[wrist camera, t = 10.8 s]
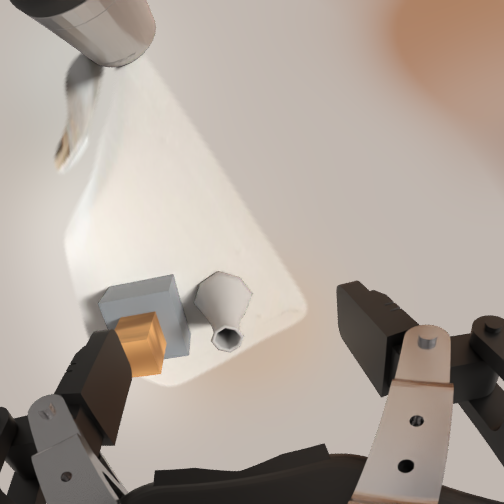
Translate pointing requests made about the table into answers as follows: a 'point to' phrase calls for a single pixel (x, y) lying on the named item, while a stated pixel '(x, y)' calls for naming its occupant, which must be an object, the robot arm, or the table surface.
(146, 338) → the orange block
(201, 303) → the flask
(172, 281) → the pedestal
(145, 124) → the table surface
